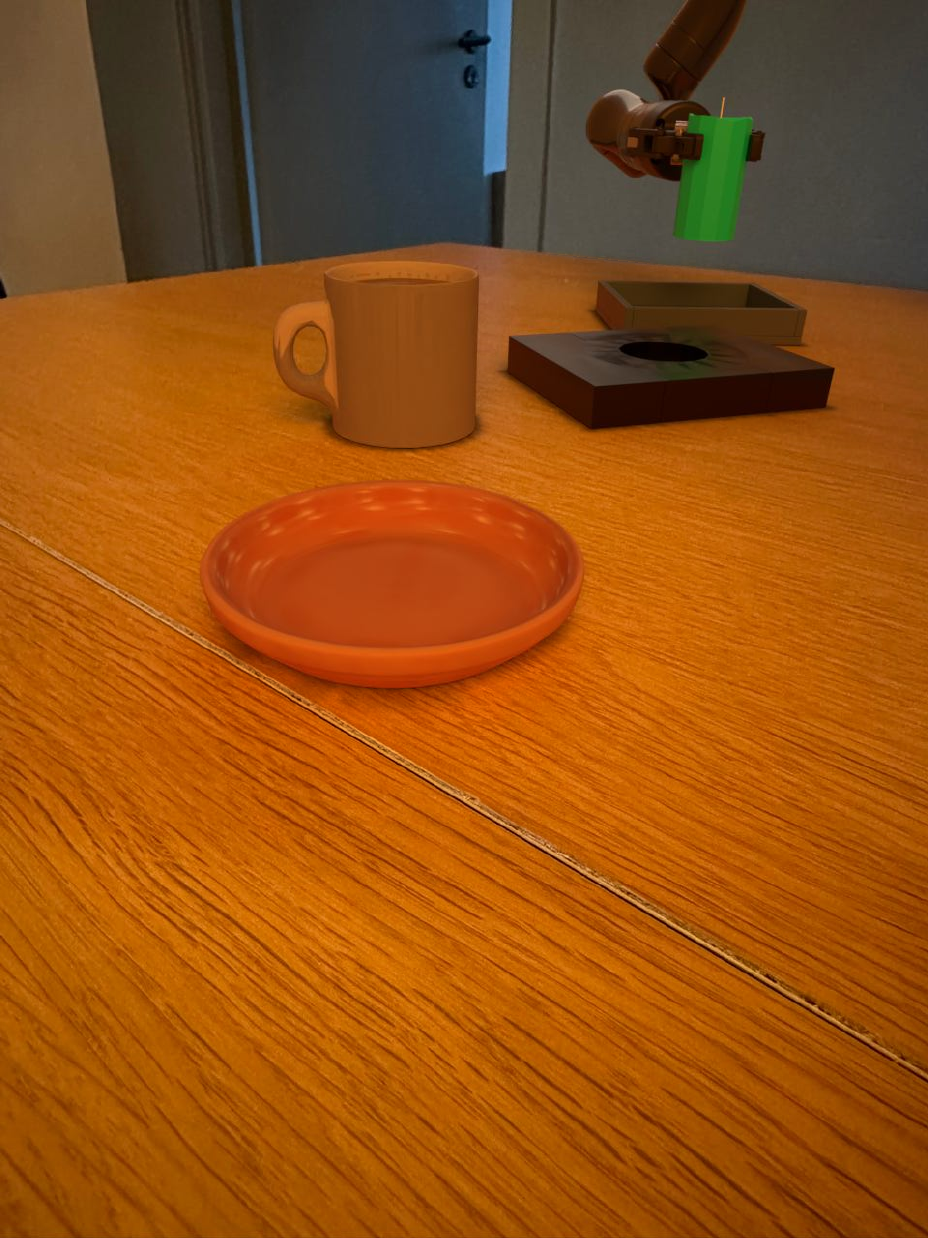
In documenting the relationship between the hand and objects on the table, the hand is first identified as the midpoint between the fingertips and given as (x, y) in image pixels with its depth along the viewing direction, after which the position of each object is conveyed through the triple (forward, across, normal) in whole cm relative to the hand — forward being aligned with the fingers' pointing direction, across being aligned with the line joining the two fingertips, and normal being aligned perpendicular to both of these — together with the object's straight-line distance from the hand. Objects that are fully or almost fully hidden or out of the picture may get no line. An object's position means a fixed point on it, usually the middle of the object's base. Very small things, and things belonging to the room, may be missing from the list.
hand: (727, 147), depth 80 cm
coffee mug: (+29, -34, +16) cm, 47 cm away
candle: (-3, 0, +8) cm, 9 cm away
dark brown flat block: (+21, -11, +16) cm, 29 cm away
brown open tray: (-2, 0, +17) cm, 17 cm away
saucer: (+55, -34, +16) cm, 67 cm away
